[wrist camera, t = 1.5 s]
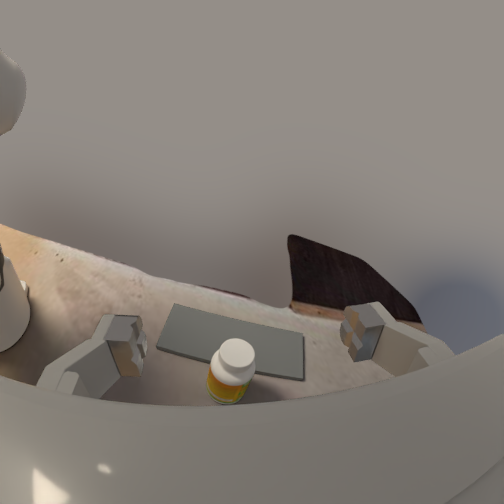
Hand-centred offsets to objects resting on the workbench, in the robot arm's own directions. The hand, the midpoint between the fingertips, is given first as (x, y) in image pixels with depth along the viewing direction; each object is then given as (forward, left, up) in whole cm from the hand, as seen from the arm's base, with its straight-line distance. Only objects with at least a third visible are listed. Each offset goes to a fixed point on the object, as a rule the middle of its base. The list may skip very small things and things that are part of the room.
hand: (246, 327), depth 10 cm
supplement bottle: (+1, +11, -27) cm, 29 cm away
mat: (+1, +19, -27) cm, 33 cm away
